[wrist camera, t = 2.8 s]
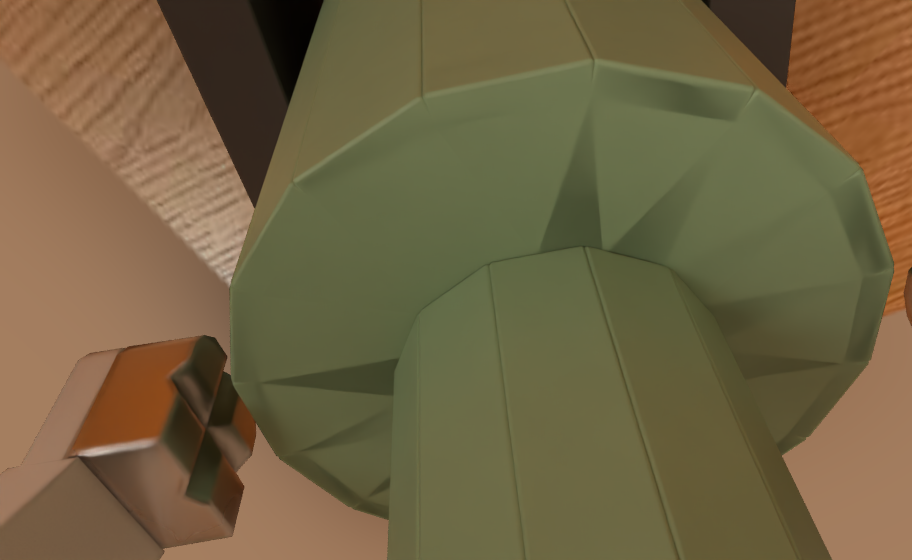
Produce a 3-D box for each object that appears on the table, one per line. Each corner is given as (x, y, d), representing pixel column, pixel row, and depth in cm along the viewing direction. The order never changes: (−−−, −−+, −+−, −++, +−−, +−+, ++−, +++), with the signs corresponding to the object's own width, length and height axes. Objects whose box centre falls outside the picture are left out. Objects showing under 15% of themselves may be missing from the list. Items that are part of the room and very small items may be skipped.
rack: (338, 202, 21) (315, 340, 17) (183, -213, 15) (72, -175, 10) (688, 134, 20) (768, 260, 16) (695, -347, 13) (838, -375, 9)
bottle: (382, 133, 20) (310, 967, 7) (303, -130, 16) (-318, 734, 2) (617, 85, 19) (1047, 903, 6) (601, -203, 15) (1920, 436, 2)
